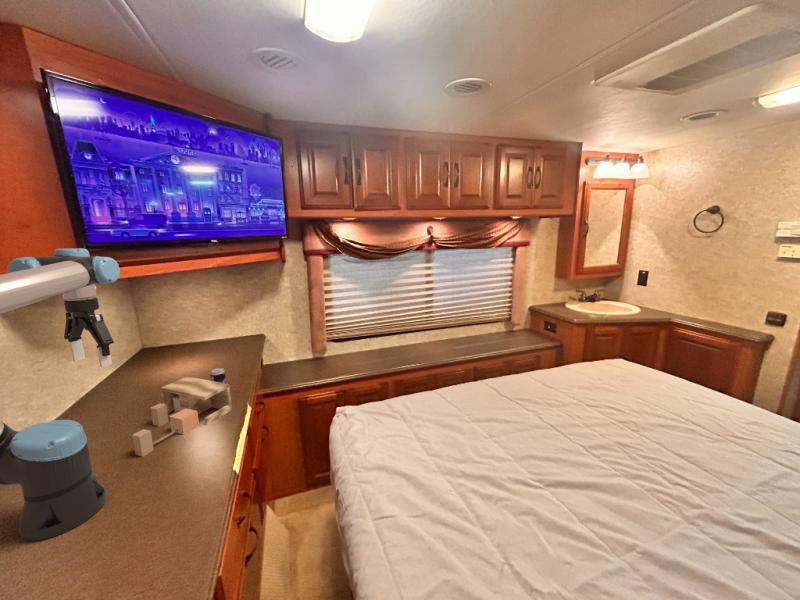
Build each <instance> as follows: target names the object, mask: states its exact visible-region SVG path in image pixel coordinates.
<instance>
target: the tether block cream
mask: <svg viewBox="0 0 800 600" xmlns="http://www.w3.org/2000/svg"><path fill="white" fill-rule="evenodd" d="M173 403H174V411H173V413H172V412H171V413H167V406H166V405H165V404H163V403H160V402H159V403H158V404H155V405H153V406H151V407H150V414H151V421H152V426H155V427H161V426H163V425H165V424H167V423H169V422H170V420H169V418H170V416H171V415H173V414H175V413H177V412H179V411H181V408H180V400H179V396H176V397H174V398H173Z"/></svg>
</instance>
